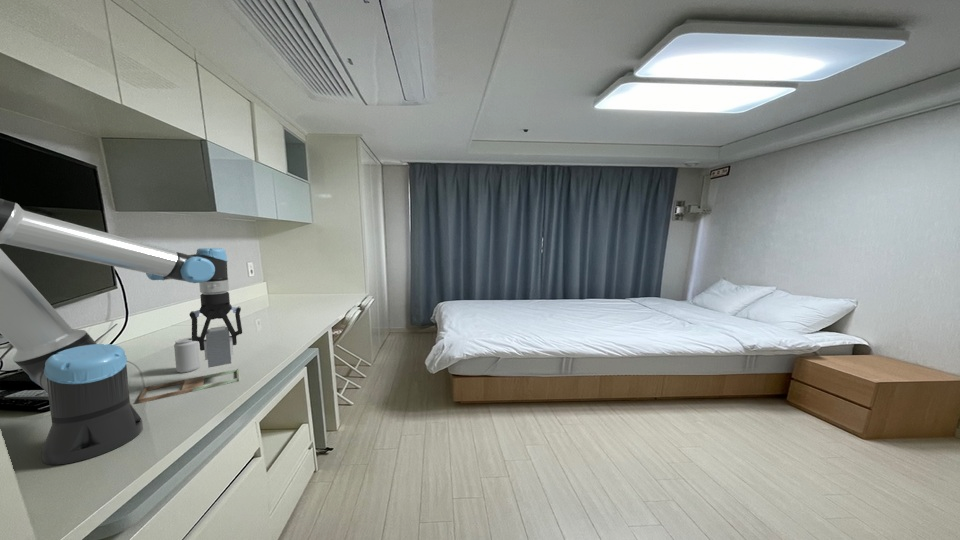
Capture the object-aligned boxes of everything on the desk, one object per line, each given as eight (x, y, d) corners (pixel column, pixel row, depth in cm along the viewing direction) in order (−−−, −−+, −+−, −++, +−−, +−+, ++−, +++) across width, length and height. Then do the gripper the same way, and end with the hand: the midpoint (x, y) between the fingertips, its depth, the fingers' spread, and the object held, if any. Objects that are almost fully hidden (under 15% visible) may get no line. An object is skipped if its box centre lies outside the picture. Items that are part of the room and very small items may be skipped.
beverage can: (204, 367, 117) (202, 337, 116) (186, 374, 111) (184, 342, 109) (189, 366, 118) (187, 336, 116) (171, 373, 111) (168, 342, 110)
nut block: (208, 367, 102) (205, 332, 101) (209, 362, 107) (206, 327, 105) (231, 363, 106) (228, 328, 105) (231, 358, 111) (228, 325, 109)
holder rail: (137, 403, 91) (137, 400, 91) (145, 390, 99) (145, 387, 98) (238, 381, 106) (238, 378, 106) (238, 371, 114) (238, 368, 114)
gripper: (174, 297, 95) (180, 366, 97) (249, 291, 107) (253, 353, 109) (177, 293, 101) (183, 359, 103) (248, 288, 113) (252, 347, 115)
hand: (219, 356), depth 106 cm, fingers closed on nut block, 6 cm apart
